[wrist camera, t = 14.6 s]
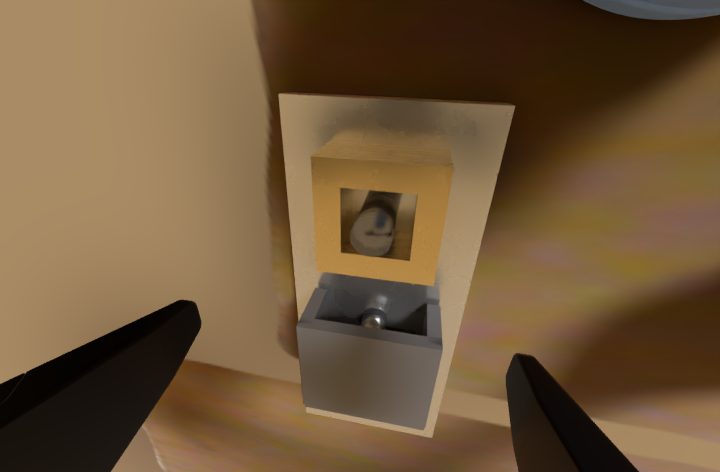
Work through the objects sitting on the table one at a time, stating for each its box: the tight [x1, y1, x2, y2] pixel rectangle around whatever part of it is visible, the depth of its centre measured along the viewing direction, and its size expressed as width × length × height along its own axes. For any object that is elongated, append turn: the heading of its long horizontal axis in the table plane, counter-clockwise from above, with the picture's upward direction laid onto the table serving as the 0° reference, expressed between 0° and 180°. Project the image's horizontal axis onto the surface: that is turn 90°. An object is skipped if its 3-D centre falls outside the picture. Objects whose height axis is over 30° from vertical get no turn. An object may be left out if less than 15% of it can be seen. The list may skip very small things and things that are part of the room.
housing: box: [296, 288, 443, 431], centre depth 20 cm, size 8×8×4 cm
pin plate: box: [278, 92, 515, 438], centre depth 20 cm, size 11×26×6 cm, turn 179°
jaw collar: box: [310, 141, 454, 286], centre depth 16 cm, size 6×6×3 cm
